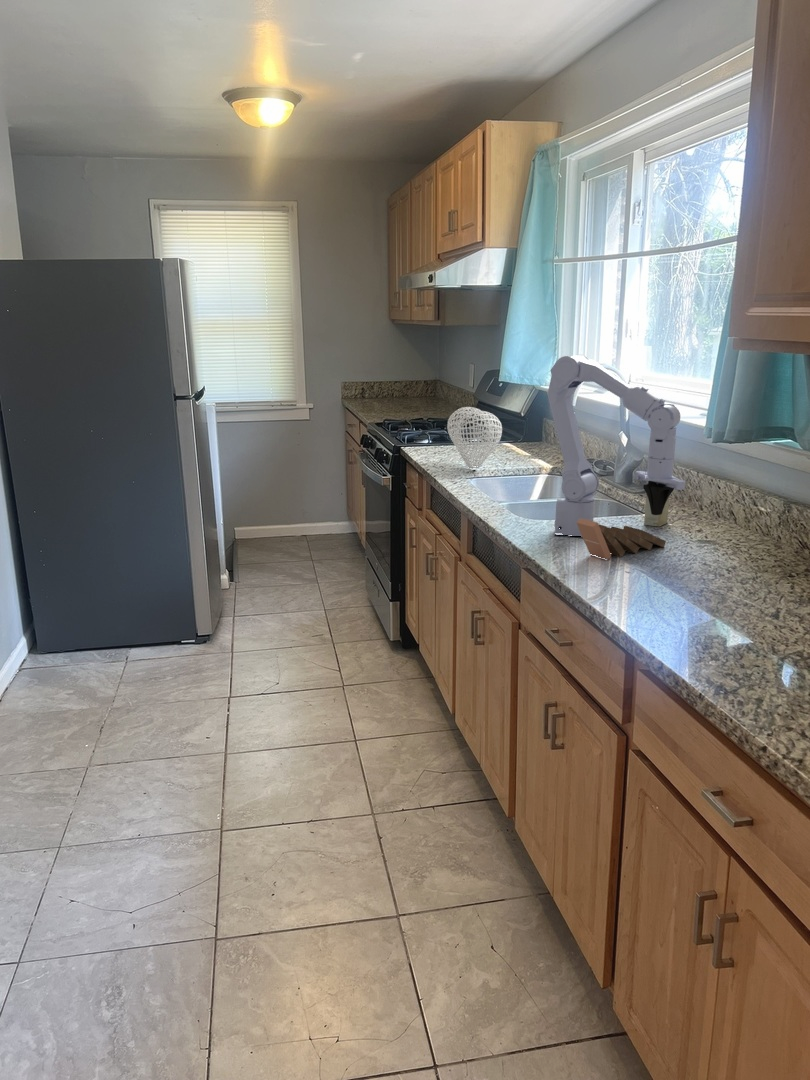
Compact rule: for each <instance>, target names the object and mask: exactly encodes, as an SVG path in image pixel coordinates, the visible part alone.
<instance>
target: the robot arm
mask: <svg viewBox="0 0 810 1080" xmlns="http://www.w3.org/2000/svg"><path fill="white" fill-rule="evenodd" d="M550 375H551V376H550V381H549V385H548V390H547V398H548V403H549V407H550V411H551V415H552V419H553V424H554V427H555V431H556V435H557V440H558V444H559V447H560V451H561V454H562V459H563V463H564V465H563V468H562V471H561V476H562V477H561V478H562V483H561V493H562V494H563V496H564V498H563V497H562V498H557V499H556V506H555V520H554V534H555V533H562V534H563V535H572V536H581V537H580V538H583V537H582V535H581V532H580V530H579V528H578V525H577V523H576V522H577V521H578V520H579V519H580V518H583V519H586V520H590V521H594V516H595V515H594V514H595V493H596V492H597V491H598V489H599V487H600V479H599V477H598V476H597V474H596V472H595V471H594V470H593V466H592V464H591V463H590V461H589V460H587V457H586V454H585V451H584V446H583V442H582V437H581V434H580V430H579V425H578V421H577V417H576V413H575V410H574V409H575V408H574V404H573V401H572V396H573V394H574V392H575V391H576V390H577V388H578V387H579V386H580V385H581V384H582V383H583V382H586V383H587V382H588V383H590V382H591V383H595V384H597V385H598V386H600V387H601V388H603V389H605V390H606V391H608V392H610V393H612V394H613V395H615V396H617V397H618V398H620V399H621V400H622V405H623V407H624V408H625V409H627V410H628V411H629V412H631V413H633V414H634V415H636V416H637V417H638V418H640V419H642V420H643V421H644V422H646V423H647V425H648V427H649V428H650V435H649V444H648V445H649V446H648V457H647V467H646V468H647V470H646V471H645V470H644V471H643V470H637V471H635V472H634V480H637V481H643V482H646V484H643V489H644V491H645V495H646V494H647V496H648V499H649V504H650V509H651V514H652V515H661V514H662V512H663V509H664V506H665V503H666V501H667V499H668V497H669V498H670V495H671V494H672V493H673V491H674V490H676V491H682V490H685V489H686V480H682V479H681V478H680V479H679V478H678V477H676V476H673V474H674V472H673V471H674V460H675V451H676V441H677V439H676V434H677V426H678V425H679V423H680V421H681V413H680V410H679V409H678V408H677V407H676V406H675V405H674V404H672V403H665V402H666V400H665V399H663V398H659V397H656V396H655V395H653V393H650V392H649V388H648V387H646V386H644V385H643V386H642V387H641V386H639V385H636V386H635V385H634V386H630V385H628V384H627V383H625V381H623V380H622V379H620V378H619V377H618V376H616V375H615V374H614V373H612V372H610V371H609V370H607V368H605V367H604V366H602V365H601V364H599V362H597V361H595V360H594V359H590V358H589V357H588V356H586V355H583V354H577V355H563V356H562V357H561V356H560V357H559V358H558V359H557V360H556V361H555V363H554V364H553V365H552V367H551V369H550ZM647 482H648V484H647ZM559 528H560V529H559Z"/></svg>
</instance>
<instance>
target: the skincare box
mask: <svg viewBox="0 0 810 1080" xmlns="http://www.w3.org/2000/svg"><path fill="white" fill-rule="evenodd" d="M647 484H648V482H647V481H646V485H647ZM644 503H645V505H644V506H645V507H644V521H643V525H645V526H650V527H651V526H652V527H658V528H659V527H662V526H663V525H664V526H665V524H667V523H668V522H669V521H668V519H669V518H668V517H669V506H670V496H669V497H668V499H667V501H666V503H665V506H664V509H663V512H662V514H661V515H652V514H651V509H650V504H649V499H648V496H647V494H646V493H645V502H644Z"/></svg>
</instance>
